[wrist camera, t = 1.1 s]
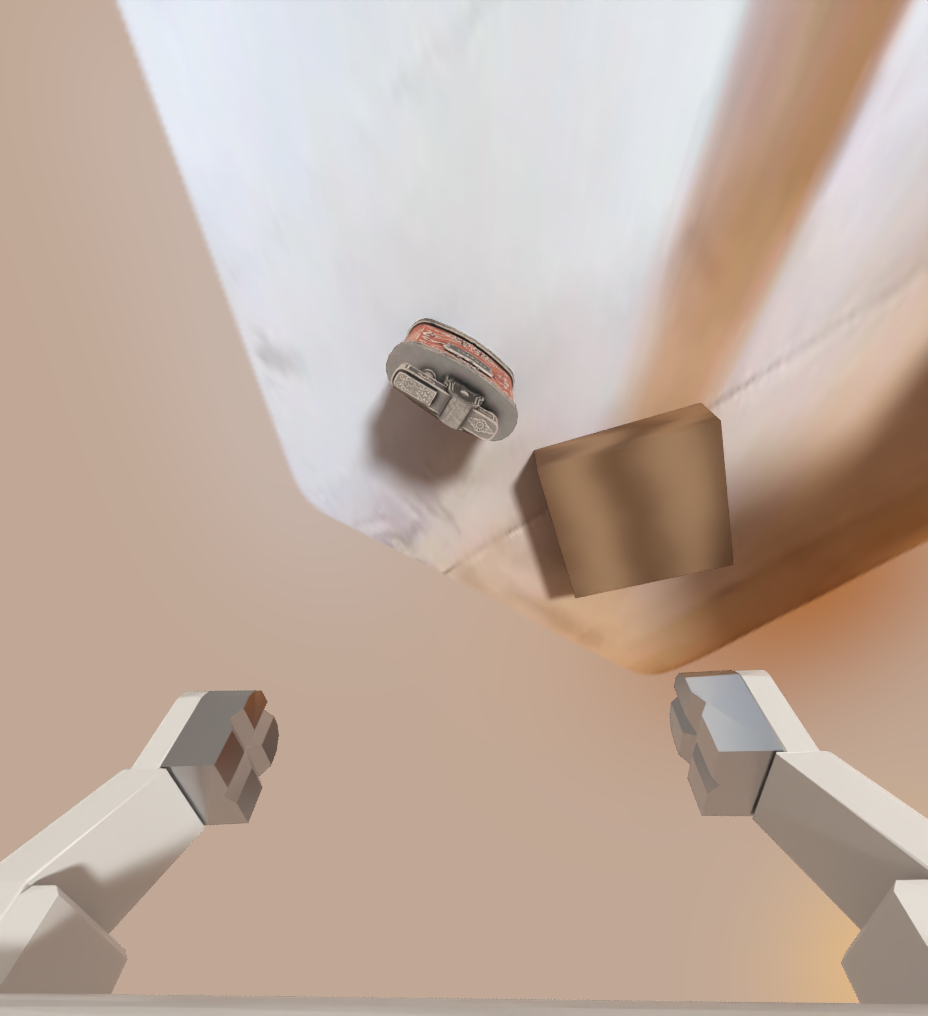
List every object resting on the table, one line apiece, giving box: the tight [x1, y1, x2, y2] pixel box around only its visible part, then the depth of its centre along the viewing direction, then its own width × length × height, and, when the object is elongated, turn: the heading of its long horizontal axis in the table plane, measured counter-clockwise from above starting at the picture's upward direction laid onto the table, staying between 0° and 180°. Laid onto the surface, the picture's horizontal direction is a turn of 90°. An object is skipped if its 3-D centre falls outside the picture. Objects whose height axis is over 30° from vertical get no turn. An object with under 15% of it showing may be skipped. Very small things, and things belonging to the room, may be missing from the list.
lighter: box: [386, 318, 518, 441], centre depth 29 cm, size 8×3×10 cm, turn 59°
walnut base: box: [534, 403, 733, 598], centre depth 37 cm, size 12×12×4 cm
